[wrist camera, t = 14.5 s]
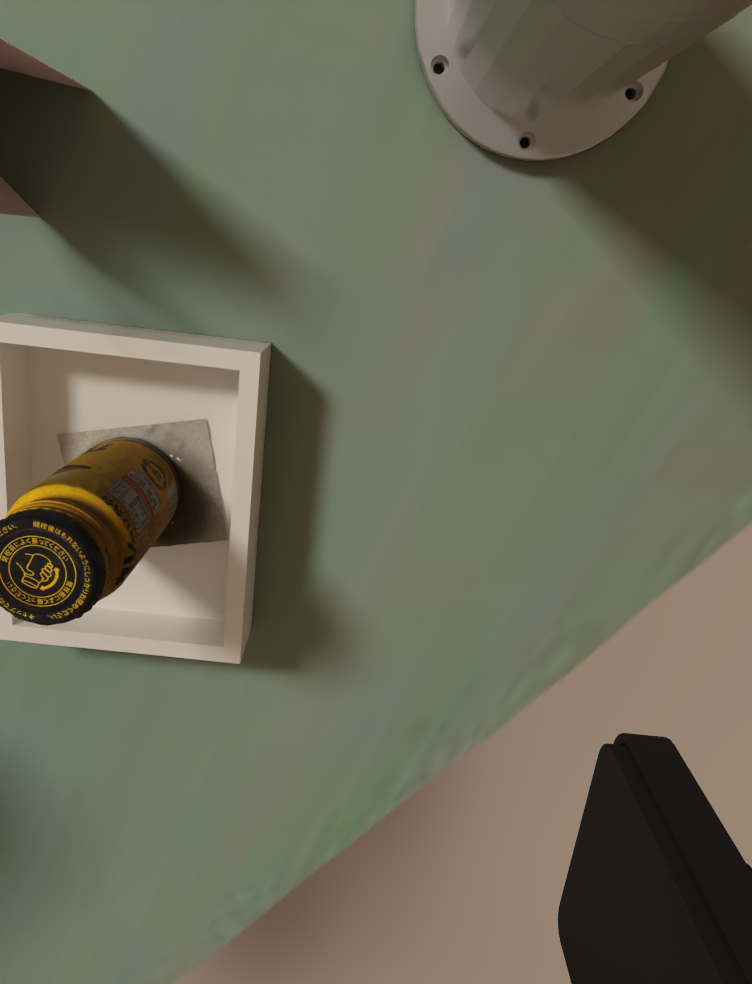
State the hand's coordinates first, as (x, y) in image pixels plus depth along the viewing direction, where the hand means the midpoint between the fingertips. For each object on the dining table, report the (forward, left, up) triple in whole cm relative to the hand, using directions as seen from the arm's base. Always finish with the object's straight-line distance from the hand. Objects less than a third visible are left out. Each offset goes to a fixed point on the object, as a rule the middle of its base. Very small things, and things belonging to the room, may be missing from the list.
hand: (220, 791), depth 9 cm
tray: (+8, -11, -33) cm, 36 cm away
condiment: (+8, -11, -32) cm, 35 cm away
